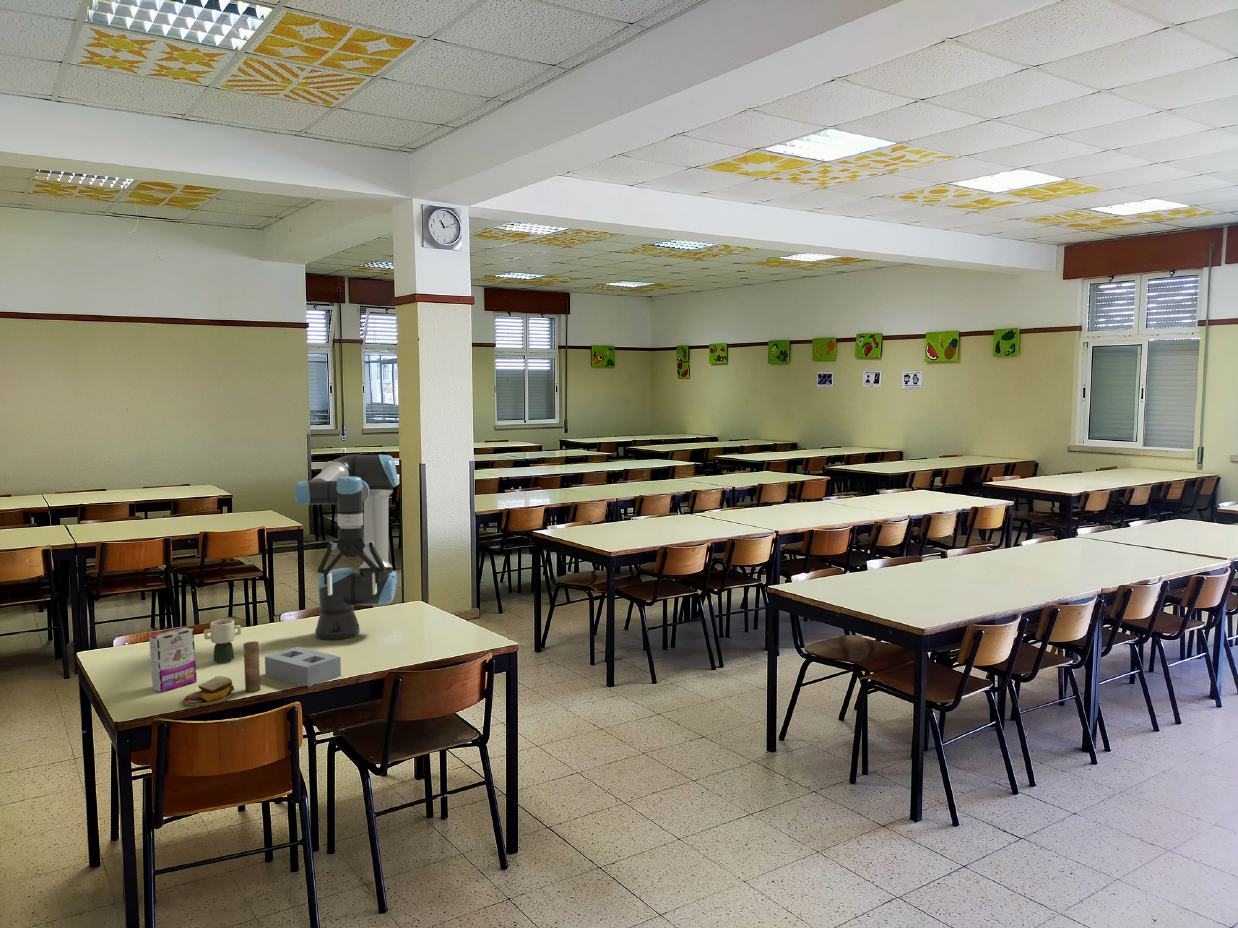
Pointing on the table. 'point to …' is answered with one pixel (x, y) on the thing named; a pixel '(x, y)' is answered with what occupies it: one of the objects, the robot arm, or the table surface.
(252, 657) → the walnut dowel
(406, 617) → the table surface
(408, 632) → the table surface
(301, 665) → the socket block
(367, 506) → the robot arm
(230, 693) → the toy sandwich meal
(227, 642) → the cream green trophy cup
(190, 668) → the candy bar box
